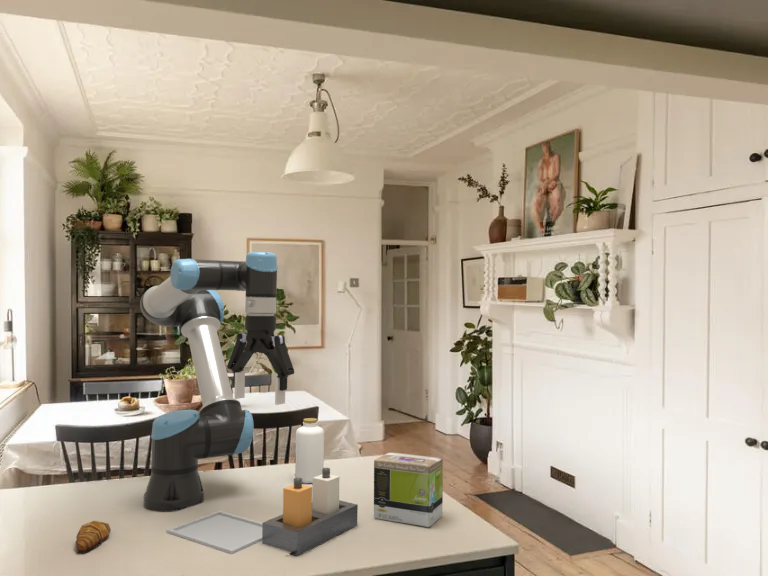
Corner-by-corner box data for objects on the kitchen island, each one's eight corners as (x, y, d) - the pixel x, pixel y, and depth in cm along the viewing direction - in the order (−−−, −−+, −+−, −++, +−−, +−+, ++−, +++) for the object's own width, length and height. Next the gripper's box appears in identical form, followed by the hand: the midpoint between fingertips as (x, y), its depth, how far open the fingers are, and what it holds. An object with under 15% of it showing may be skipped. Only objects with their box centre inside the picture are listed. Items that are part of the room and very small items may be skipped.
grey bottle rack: (262, 545, 141) (262, 522, 141) (324, 517, 159) (324, 496, 159) (296, 556, 135) (297, 532, 136) (357, 525, 154) (357, 504, 154)
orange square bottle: (282, 533, 143) (283, 479, 143) (296, 527, 146) (296, 474, 146) (298, 538, 140) (299, 482, 140) (311, 531, 144) (312, 478, 144)
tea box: (443, 516, 162) (444, 457, 162) (429, 529, 152) (429, 466, 153) (388, 506, 168) (389, 450, 168) (372, 518, 159) (373, 458, 159)
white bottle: (318, 485, 185) (319, 422, 186) (291, 483, 187) (292, 421, 187) (326, 477, 194) (327, 417, 194) (300, 475, 195) (301, 416, 195)
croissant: (90, 532, 148) (90, 510, 148) (120, 532, 148) (120, 510, 148) (63, 556, 135) (64, 532, 135) (96, 556, 135) (96, 532, 135)
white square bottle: (311, 520, 151) (312, 469, 151) (323, 515, 155) (324, 465, 155) (327, 524, 149) (327, 472, 149) (338, 518, 152) (339, 468, 152)
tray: (166, 535, 146) (166, 529, 146) (219, 515, 160) (219, 510, 160) (231, 556, 135) (231, 551, 135) (283, 533, 148) (283, 528, 148)
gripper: (213, 313, 162) (212, 397, 162) (288, 316, 148) (287, 408, 148) (235, 313, 168) (234, 394, 168) (309, 316, 155) (308, 404, 155)
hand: (259, 401), depth 158 cm, fingers open, 13 cm apart
